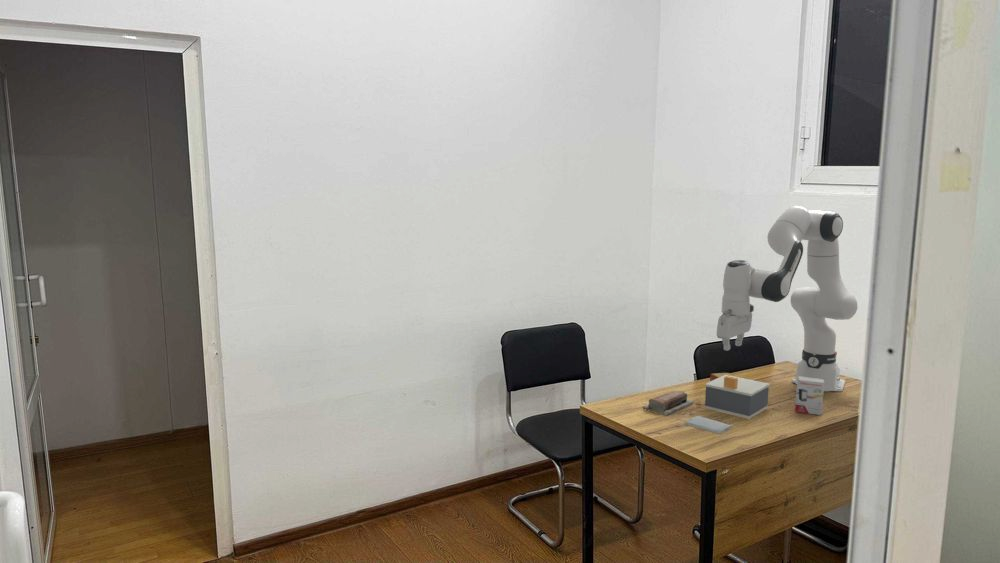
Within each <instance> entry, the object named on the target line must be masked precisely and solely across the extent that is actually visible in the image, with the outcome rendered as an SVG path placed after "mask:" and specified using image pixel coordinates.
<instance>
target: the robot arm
mask: <svg viewBox="0 0 1000 563" xmlns="http://www.w3.org/2000/svg"><path fill="white" fill-rule="evenodd" d="M843 228H844V221H843V218H842V216H841V215H840V214H839V213H837V212H834V211H830V210H829V211H823V210H817V209H816V210H814V209H812V210H808V209H807V208H805V207H803V206H799V205H793V206H791V207H789V208H788V209H786V210H785V211H784V212H782V214H781V215H780V216H779V217H778V218H777V219H776V221H775V222H774V224H773V225H772V226H771V228H770V229H769V231H768V233H767V242H768V245H769V247H770V248H771V250H773V252H774V253H776V254H778V255H780V256H782V257H783V259H782V261H781V263H780V265H779V268H778V269H776V270H773V271H772V270H771V271H770V270H763V269H761V270H760V269H756V268H754V267H752V266H751V263H750V261H748V260H743V259H742V260H741V259H737V260H731V261H729V262H727V264H726V265H725V270H724V274H723V283H722V288H723V295H722V297H721V298H722V299H721V300H722V301H721V313H722V314H721V315H720V316H719V318H718V319H717V326H716V338H718V339H720V340H721V339H722V341H721V342H722V344H723V351H726V352H727V351H730V350H731V347H732V346H731V344H730V340H731V338H733V337H736V339H735V340H734V341H735V342H734V344H735V346H736V347H741V346H742V345H743V340H744V337H745V333H749V331H750V330H751V327H752V321H753V312H754V309H755V306H754V305H753V304H751V302H750V300H751V299H750V297H751V298H755V299H761V300H766V301H771V302H774V303H779V302H781V301H782V300H784V299H785V298H787V297H788V296H789V294H790V293H789V292H790V291H791V287H792V282H793V279H794V276H795V275H796V272H797V270H798V267H799V266H800V263H801V260H802V258H803V253H804V245H803V242H802V241H807V249H806V250H807V252H806V257H807V258H806V260H807V262H806V264H807V265H806V268H807V270H806V271H807V275H808V277H809V278H810V279H811V280H813V281H814V282H815V283H816V284H817V287H812V286H802V287H797V288H796V289H794V290H793V292H792V293H791V295H790V305H791V307H792V308H793V310H794V311H795V312H796V313H797V315H798V316H799V318H800V320H801V323H802V326H803V330H804V331H803V332H804V342H803V349H802V352H801V360H800V361H798V362H797V366H796V373H795V378H792V379H791V382H792V383H794V384H796V385H797V380H798V377H799V376H802V377H809V378H817V379H823V380H824V392H843V390H844V387H845V384H846V380H845V379H842V378H840V373H841V372H840V367H839V366H838V365H837V363H836V362H837V355H838V354H837V353H838V352H837V351H835V350H836V340H837V334H836V332H835V330H834V329H833V328H832V327H831V326H829V325H828V323H827V321H826V319H831V320H836V321H842V320H843V321H844V320H850V319H852V318H853V317H854V316H855V315H856V313H857V310H858V300H857V298H856V297H855V296H854V295H853V294H852V293H850V291H849V290H848V289H847V287H846V286H845V284H844V282H843V279H842V277H841V272H840V246H839V245H840V244H839V237H840V235H841V234H842V231H843Z"/></svg>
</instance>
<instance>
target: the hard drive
mask: <svg viewBox="0 0 1000 563" xmlns="http://www.w3.org/2000/svg"><path fill="white" fill-rule="evenodd" d="M684 424H685V426H689V427H693V428H696V429H701V430H704V431H707V432H710V433H715V434H718V435H722V434H723V433H725V432H727V431H729V430H731V429H733V425H732V424H727V423H724V422H720V421H718V420H717V421H716V420H713V419H710V418H705V417H704V416H699V415H696V416H693V417H692V418H689V419H687V420H685V422H684Z"/></svg>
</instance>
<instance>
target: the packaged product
mask: <svg viewBox="0 0 1000 563" xmlns="http://www.w3.org/2000/svg"><path fill="white" fill-rule="evenodd" d="M693 405H694V400H690V399H688V394H687V393H686V392H685V391H683V390H679V391H678V390H673V391H668V392H665V393H662V394H660V395H656V396H655V397H652V398H650V399H648V404H647V405H645V406H643V407H642V409H643V410H645V409H646V410H645V411H648V410H650V411H649V412H652V411H653V412H652V413H655V412H656V414H660V415H663V416H670V415H672V414H674V413H677V411H678V412H680V411H682V410H684V408H685V409H687V408H689V407H691V406H693Z"/></svg>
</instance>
